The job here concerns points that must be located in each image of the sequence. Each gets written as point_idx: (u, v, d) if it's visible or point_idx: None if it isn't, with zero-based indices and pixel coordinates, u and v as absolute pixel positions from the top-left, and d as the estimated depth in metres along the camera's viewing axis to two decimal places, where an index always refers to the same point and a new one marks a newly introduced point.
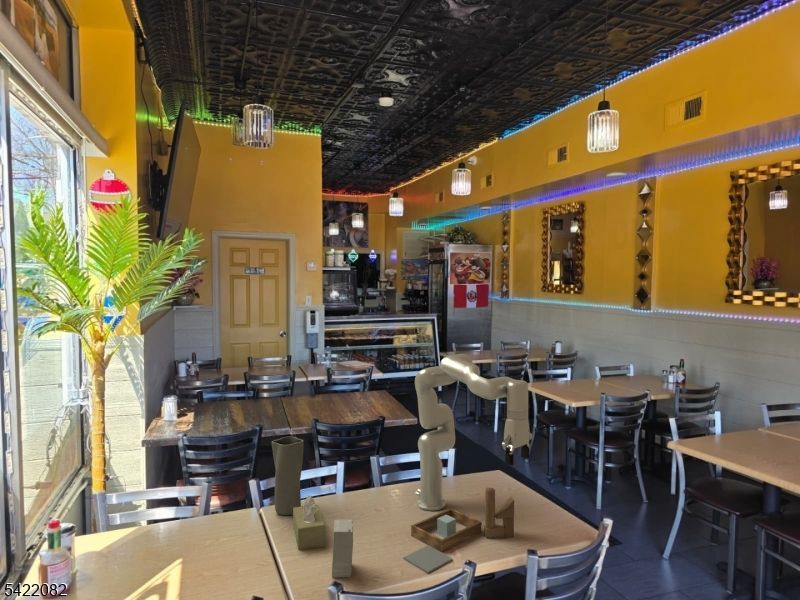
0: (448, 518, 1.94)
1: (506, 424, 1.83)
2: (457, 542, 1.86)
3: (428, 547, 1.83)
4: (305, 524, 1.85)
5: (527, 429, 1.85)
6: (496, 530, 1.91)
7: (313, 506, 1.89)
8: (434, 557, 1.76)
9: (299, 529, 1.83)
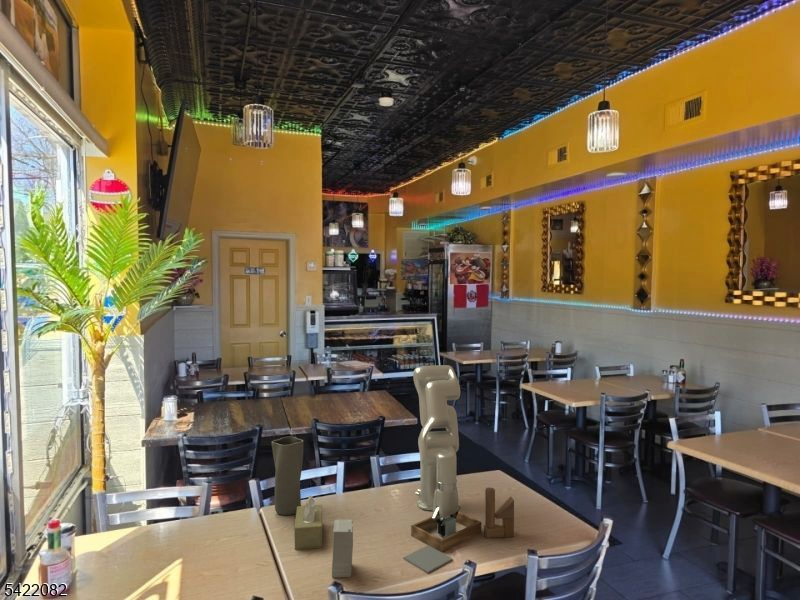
0: (448, 518, 1.94)
1: (435, 495, 1.92)
2: (457, 542, 1.86)
3: (428, 547, 1.83)
4: (302, 524, 1.86)
5: (456, 499, 1.94)
6: (496, 530, 1.91)
7: (312, 506, 1.89)
8: (434, 557, 1.76)
9: (295, 528, 1.83)
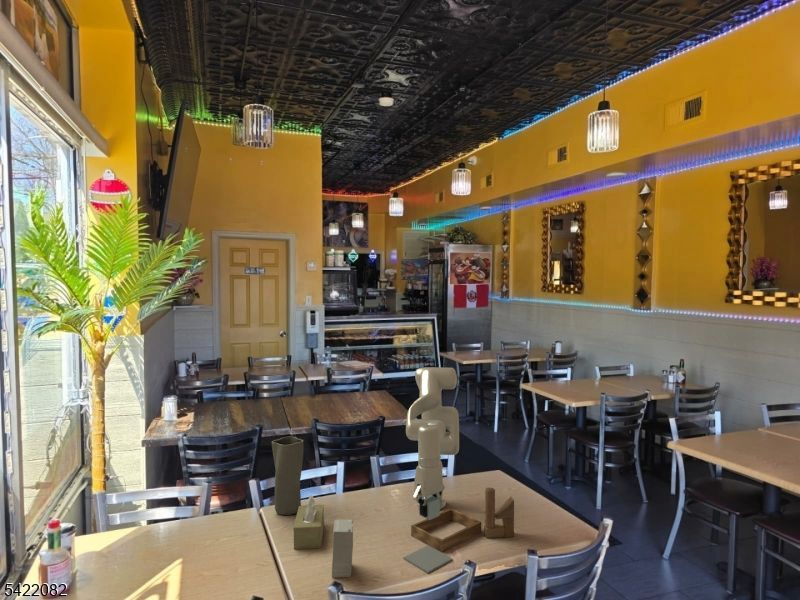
0: (431, 498, 1.77)
1: (416, 472, 1.74)
2: (457, 542, 1.86)
3: (428, 547, 1.83)
4: (301, 524, 1.86)
5: (439, 477, 1.77)
6: (496, 530, 1.91)
7: (312, 506, 1.89)
8: (434, 557, 1.76)
9: (294, 528, 1.83)
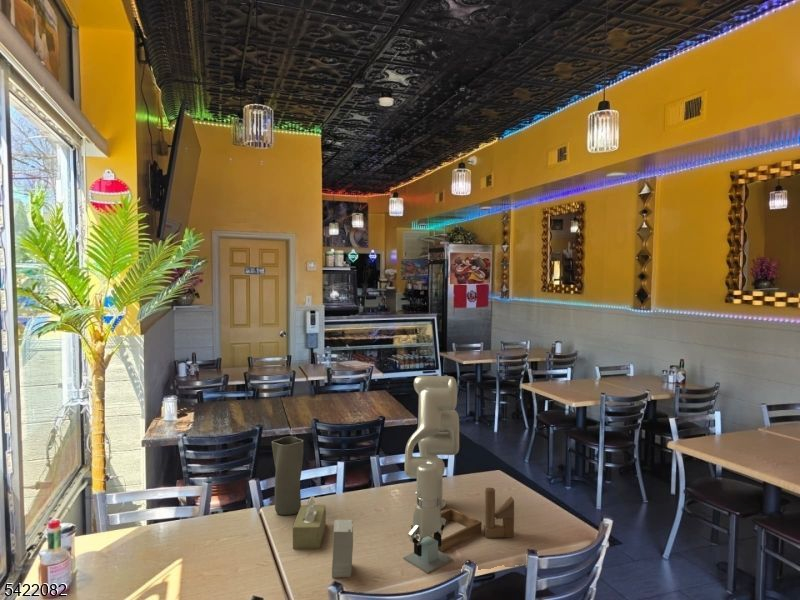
0: (430, 540, 1.76)
1: (415, 512, 1.74)
2: (457, 542, 1.86)
3: None
4: (301, 524, 1.86)
5: (438, 516, 1.76)
6: (496, 530, 1.91)
7: (311, 507, 1.89)
8: None
9: (293, 528, 1.84)
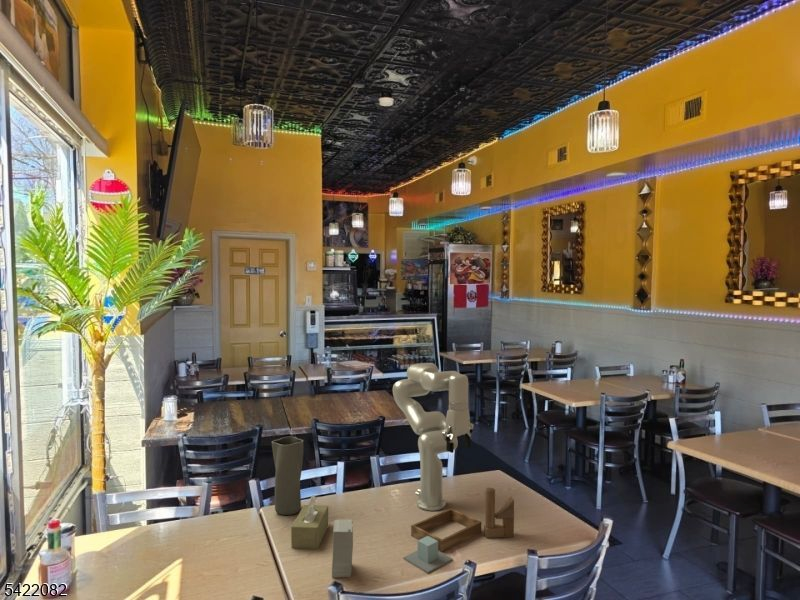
0: (430, 540, 1.76)
1: (447, 415, 1.98)
2: (457, 542, 1.86)
3: None
4: (300, 524, 1.86)
5: (467, 419, 2.00)
6: (496, 530, 1.91)
7: (311, 507, 1.89)
8: None
9: (292, 527, 1.84)
